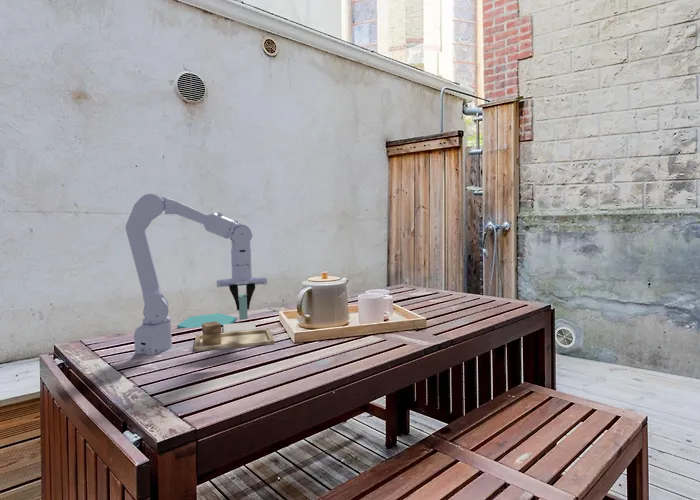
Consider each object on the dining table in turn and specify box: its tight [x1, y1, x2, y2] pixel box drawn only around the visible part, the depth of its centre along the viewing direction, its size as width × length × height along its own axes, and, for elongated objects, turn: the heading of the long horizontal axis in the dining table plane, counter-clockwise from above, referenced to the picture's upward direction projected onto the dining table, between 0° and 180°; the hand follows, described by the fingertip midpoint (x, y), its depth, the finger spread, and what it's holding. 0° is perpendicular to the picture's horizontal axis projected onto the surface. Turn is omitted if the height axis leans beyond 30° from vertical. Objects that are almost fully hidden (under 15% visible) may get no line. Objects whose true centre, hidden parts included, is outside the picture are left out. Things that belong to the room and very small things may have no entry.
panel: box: [238, 293, 249, 321], centre depth 132 cm, size 2×7×6 cm, turn 16°
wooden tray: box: [193, 328, 276, 352], centre depth 130 cm, size 22×14×2 cm, turn 107°
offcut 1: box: [201, 321, 222, 335], centre depth 128 cm, size 4×5×2 cm
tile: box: [222, 321, 257, 333], centre depth 143 cm, size 10×10×2 cm
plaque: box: [176, 312, 238, 329], centre depth 154 cm, size 18×2×20 cm
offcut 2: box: [202, 332, 222, 346], centre depth 128 cm, size 5×5×3 cm
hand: (242, 309), depth 132 cm, fingers closed on panel, 2 cm apart
